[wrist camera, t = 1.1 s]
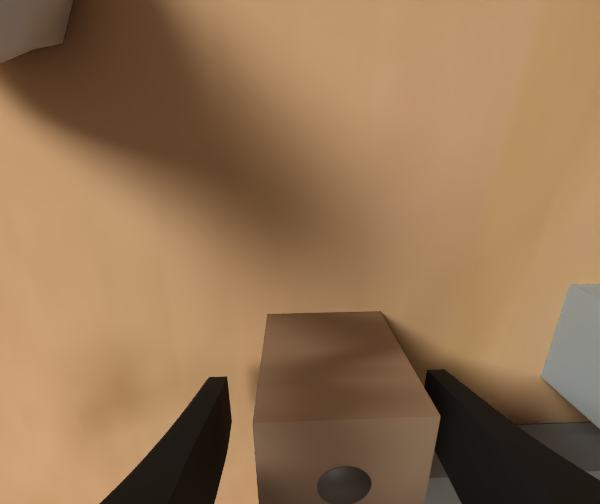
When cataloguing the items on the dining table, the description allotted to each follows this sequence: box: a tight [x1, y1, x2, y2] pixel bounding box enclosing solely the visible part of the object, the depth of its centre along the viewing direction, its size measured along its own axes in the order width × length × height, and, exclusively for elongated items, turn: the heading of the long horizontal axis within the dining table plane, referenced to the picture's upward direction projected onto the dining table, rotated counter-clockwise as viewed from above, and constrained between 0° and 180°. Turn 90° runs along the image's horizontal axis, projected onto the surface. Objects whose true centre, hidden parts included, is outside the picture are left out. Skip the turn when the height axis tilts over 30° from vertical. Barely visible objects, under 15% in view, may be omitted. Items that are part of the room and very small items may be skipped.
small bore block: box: [253, 311, 441, 504], centre depth 10 cm, size 4×4×5 cm
